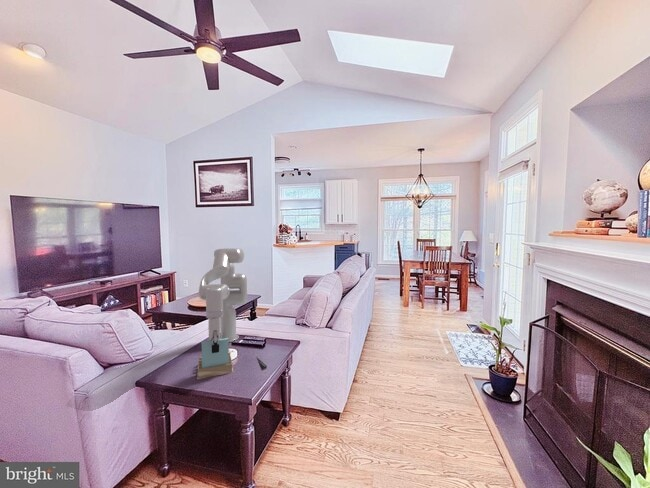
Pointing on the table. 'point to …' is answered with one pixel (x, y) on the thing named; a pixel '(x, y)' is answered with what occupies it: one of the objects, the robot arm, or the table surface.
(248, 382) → the table surface
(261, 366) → the phone
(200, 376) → the rack
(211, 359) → the tall sheet
